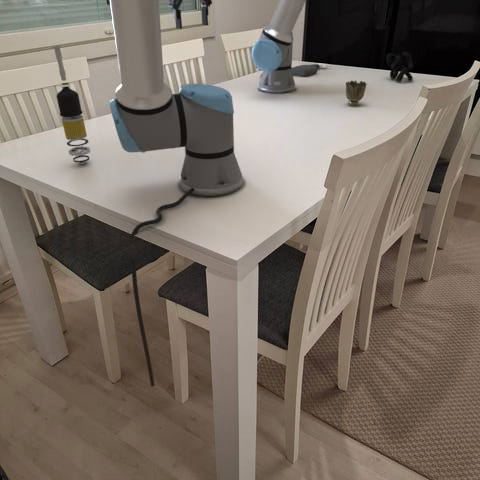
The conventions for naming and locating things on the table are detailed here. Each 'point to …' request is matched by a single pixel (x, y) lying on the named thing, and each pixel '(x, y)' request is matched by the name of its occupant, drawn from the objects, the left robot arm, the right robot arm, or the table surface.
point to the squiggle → (399, 66)
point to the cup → (355, 91)
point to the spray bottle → (307, 69)
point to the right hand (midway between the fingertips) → (192, 26)
